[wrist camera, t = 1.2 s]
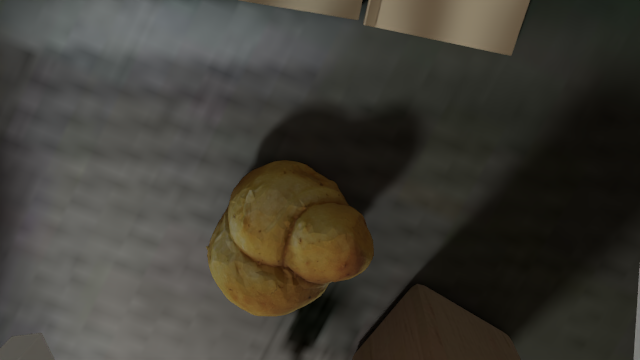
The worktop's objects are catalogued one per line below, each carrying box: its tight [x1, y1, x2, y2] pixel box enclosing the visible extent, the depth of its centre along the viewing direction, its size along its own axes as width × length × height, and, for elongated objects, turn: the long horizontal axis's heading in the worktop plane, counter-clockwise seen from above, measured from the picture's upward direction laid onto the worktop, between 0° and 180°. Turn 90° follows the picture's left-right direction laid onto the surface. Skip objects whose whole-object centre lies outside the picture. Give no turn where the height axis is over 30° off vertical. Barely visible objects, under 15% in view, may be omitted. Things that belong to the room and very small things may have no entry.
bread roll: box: [206, 160, 374, 316], centre depth 34 cm, size 13×10×8 cm
